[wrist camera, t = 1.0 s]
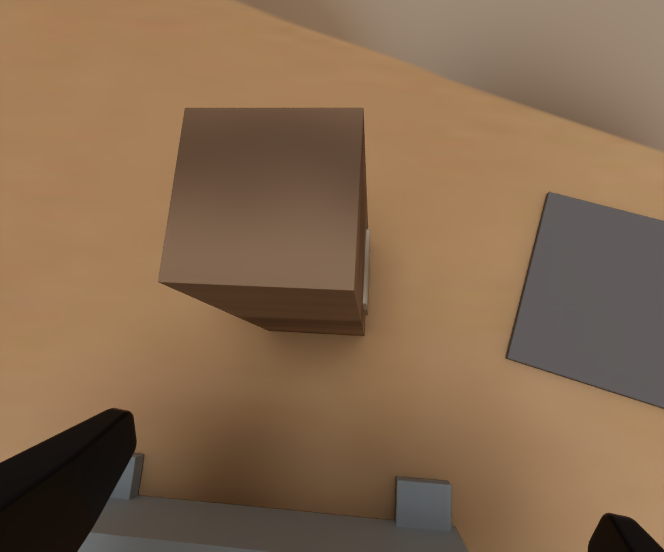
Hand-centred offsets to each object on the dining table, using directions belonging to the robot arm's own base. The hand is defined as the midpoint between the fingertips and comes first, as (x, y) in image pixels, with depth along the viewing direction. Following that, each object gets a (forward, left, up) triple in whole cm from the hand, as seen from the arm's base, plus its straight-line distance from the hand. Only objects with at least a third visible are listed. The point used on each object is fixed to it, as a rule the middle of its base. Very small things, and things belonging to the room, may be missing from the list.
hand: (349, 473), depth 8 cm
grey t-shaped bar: (-7, 0, -13) cm, 15 cm away
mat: (+13, -5, -13) cm, 19 cm away
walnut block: (+3, +6, -13) cm, 15 cm away
